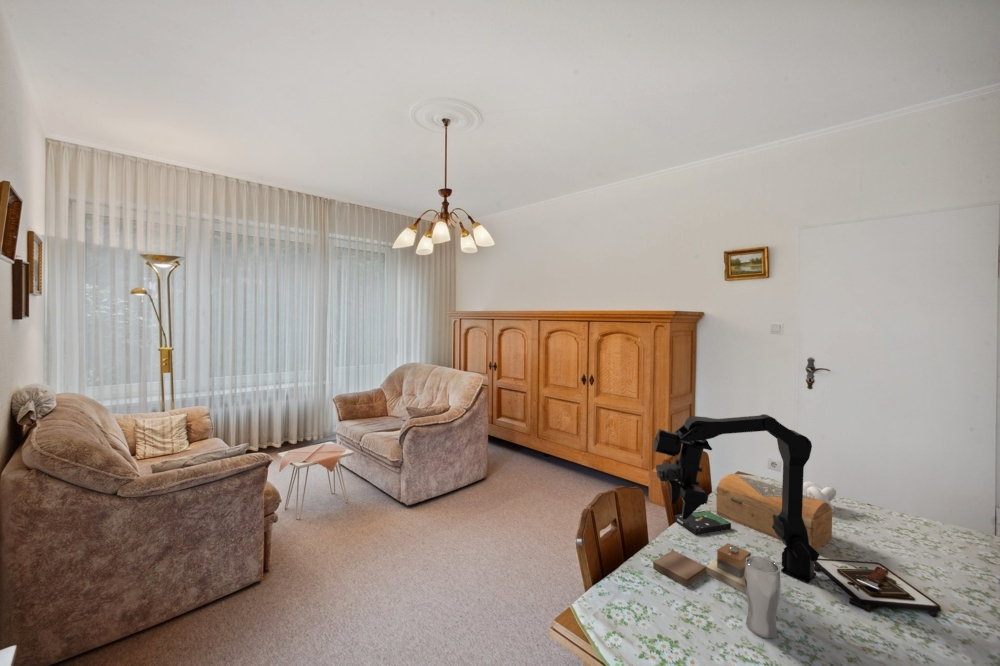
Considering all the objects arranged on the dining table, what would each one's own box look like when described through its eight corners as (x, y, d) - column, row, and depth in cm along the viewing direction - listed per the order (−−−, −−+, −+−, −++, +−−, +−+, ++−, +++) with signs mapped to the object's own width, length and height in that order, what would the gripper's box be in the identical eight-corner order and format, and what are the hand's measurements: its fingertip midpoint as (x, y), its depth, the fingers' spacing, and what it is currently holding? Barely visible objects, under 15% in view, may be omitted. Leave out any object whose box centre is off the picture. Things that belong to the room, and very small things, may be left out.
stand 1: (706, 573, 113) (706, 566, 113) (686, 586, 107) (686, 579, 107) (673, 556, 121) (673, 550, 121) (653, 568, 115) (653, 561, 115)
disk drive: (695, 537, 133) (731, 530, 137) (695, 529, 133) (731, 522, 137) (674, 522, 143) (708, 516, 147) (674, 515, 143) (708, 509, 147)
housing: (750, 570, 111) (750, 549, 111) (740, 578, 107) (740, 556, 107) (727, 560, 116) (727, 539, 116) (717, 567, 112) (717, 546, 112)
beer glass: (736, 618, 96) (737, 556, 95) (764, 616, 96) (765, 554, 96) (758, 641, 89) (759, 574, 88) (787, 639, 89) (788, 572, 89)
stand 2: (761, 578, 110) (761, 571, 110) (744, 592, 105) (744, 585, 105) (723, 561, 119) (723, 554, 119) (706, 573, 113) (706, 566, 113)
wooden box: (834, 539, 131) (835, 497, 130) (811, 554, 122) (812, 509, 122) (740, 504, 156) (740, 469, 156) (715, 514, 148) (715, 477, 148)
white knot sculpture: (793, 508, 153) (794, 484, 153) (800, 498, 161) (801, 476, 161) (831, 518, 145) (832, 493, 145) (837, 508, 153) (837, 484, 153)
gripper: (652, 444, 128) (642, 491, 129) (672, 465, 109) (660, 520, 110) (688, 451, 127) (678, 499, 128) (714, 475, 108) (702, 530, 109)
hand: (678, 511), depth 119 cm, fingers open, 9 cm apart
